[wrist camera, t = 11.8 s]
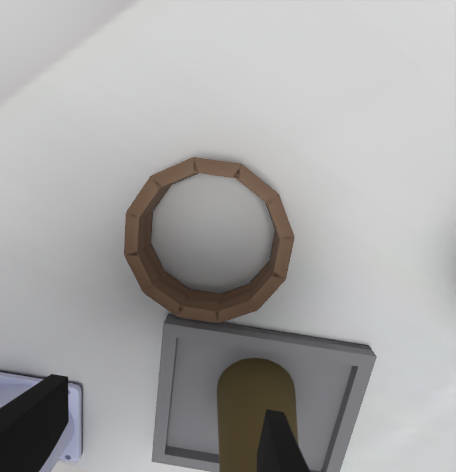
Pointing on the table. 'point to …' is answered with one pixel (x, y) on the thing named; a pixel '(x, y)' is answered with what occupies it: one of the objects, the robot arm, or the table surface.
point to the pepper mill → (250, 409)
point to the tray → (265, 347)
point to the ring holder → (176, 293)
